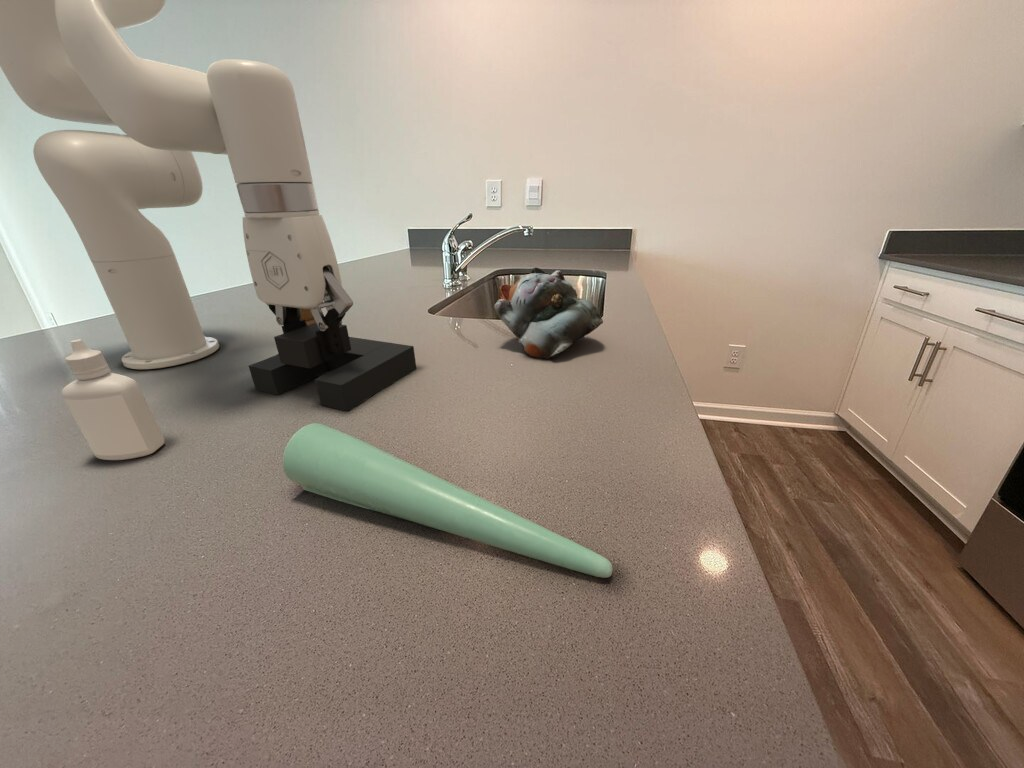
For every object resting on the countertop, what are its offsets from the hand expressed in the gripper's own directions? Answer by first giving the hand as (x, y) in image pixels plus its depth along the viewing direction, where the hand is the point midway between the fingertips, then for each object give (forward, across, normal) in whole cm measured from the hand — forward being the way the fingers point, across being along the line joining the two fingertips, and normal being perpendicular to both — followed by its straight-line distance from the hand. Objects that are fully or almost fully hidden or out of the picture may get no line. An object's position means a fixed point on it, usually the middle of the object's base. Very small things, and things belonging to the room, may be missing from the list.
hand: (316, 353), depth 53 cm
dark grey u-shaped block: (+5, 0, +3) cm, 6 cm away
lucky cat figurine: (+5, +23, +26) cm, 35 cm away
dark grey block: (0, 0, 0) cm, 0 cm away
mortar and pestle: (+5, -21, +16) cm, 27 cm away
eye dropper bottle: (+5, -7, -19) cm, 21 cm away
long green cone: (+5, +28, -15) cm, 32 cm away
